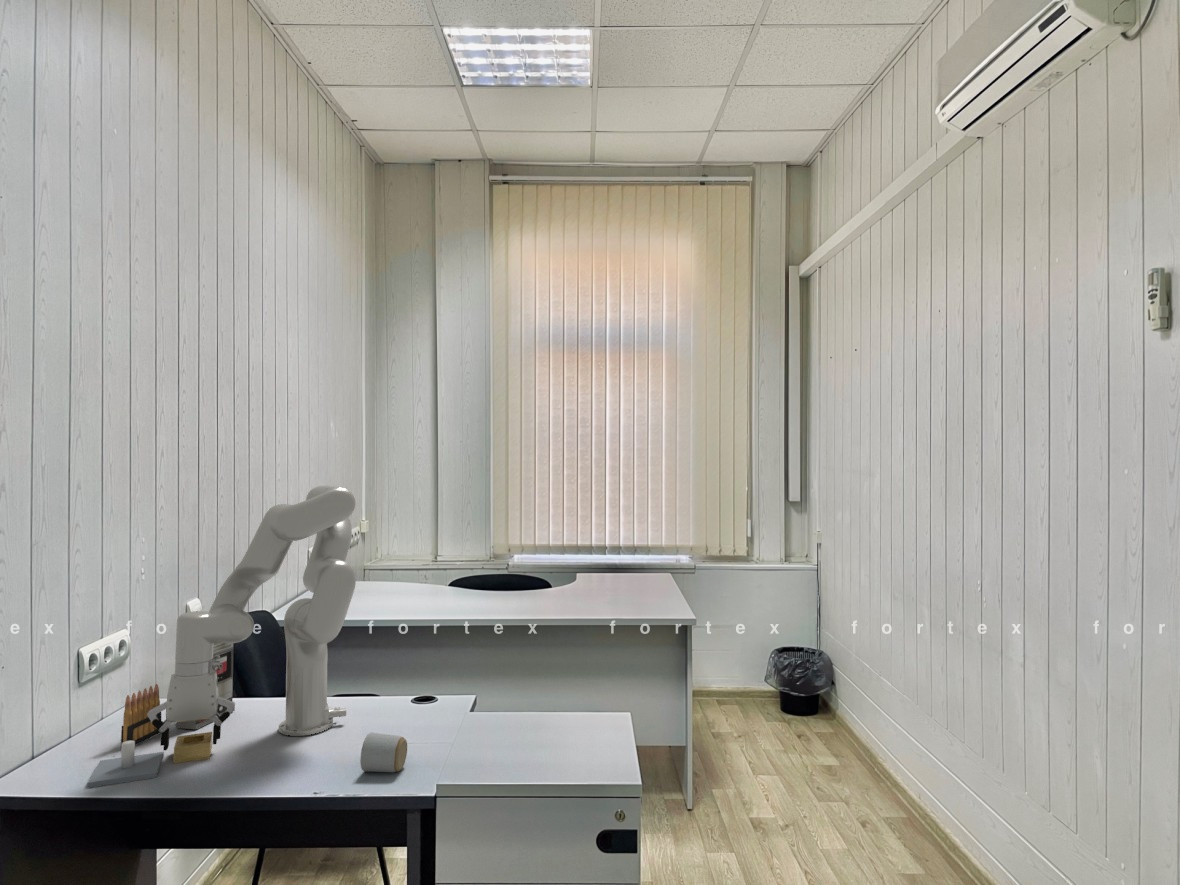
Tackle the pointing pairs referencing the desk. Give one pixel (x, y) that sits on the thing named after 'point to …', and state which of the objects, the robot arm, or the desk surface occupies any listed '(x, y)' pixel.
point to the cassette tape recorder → (225, 682)
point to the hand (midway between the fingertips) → (190, 745)
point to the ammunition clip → (140, 716)
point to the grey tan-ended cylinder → (383, 753)
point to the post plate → (128, 774)
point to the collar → (193, 747)
